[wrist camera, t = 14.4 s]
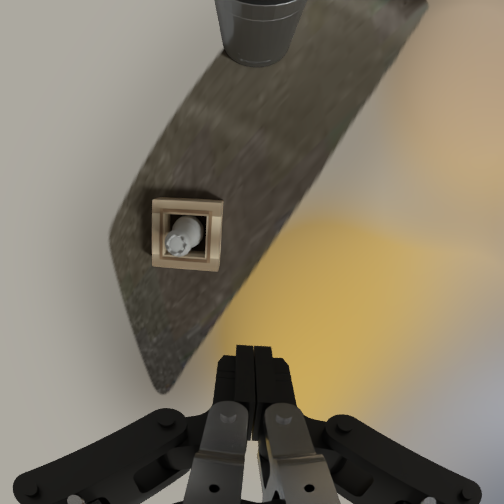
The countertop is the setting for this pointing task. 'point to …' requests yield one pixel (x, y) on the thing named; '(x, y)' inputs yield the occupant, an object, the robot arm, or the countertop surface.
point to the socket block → (161, 228)
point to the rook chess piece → (184, 235)
